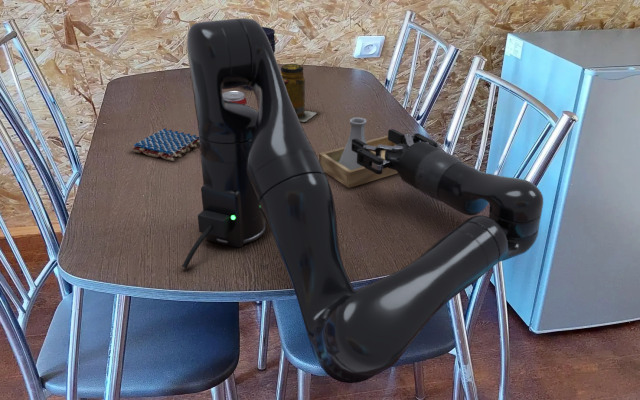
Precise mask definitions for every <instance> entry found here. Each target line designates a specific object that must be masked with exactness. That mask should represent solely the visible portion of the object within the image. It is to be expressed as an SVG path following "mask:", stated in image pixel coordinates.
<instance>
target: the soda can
mask: <svg viewBox="0 0 640 400" xmlns="http://www.w3.org/2000/svg"><path fill="white" fill-rule="evenodd" d="M245 95H246V94H245V93H244V92H242V91H237V90H229V91H225V92H222V96H223V99H224V100H226V101H229V102H234V103H239V104H243V105H247V106H248V104H247V98H246V97H245Z"/></svg>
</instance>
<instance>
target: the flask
mask: <svg viewBox="0 0 640 400" xmlns="http://www.w3.org/2000/svg"><path fill="white" fill-rule="evenodd" d="M349 125H350V131H349V135H348V139H347V142H346V144H345V146H346V147H345V146H344V147H345V149H344V151H343V154H342V156H341V158H340V160H339V163H340V164H341V165H343V166H345V167H346V168H348V169H349V170H353V169H356V168H360V167H363V166H361V165H359V164H357V153H356V152H354V151H352V150H351V147H352V139H356V138H357V139H358V140H360V141H362V142H364V143H366V141H367V140H366V134H365V126H366V125H367V119H366V118H364V117H352V118H349Z"/></svg>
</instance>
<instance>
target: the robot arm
mask: <svg viewBox="0 0 640 400" xmlns="http://www.w3.org/2000/svg"><path fill="white" fill-rule="evenodd" d="M262 27H263V26H261V25H260V23H259V22H258V21H256V20H255V19H252V18H242V17H241V18H229V19H220V20H219V19H218V20H207V21H201V22H196V23H193V24H192V25H191V26H190V27H189V29H188V32H187V35H186V36H187V37H186V52H187V53H186V54H187V61H188V66H189V73H190V78H191V86H192V93H193V101H194V102H193V103H194V109H195V110H194V111H195V116H196V121H197V129H198V130H197V131H198V137H199V142H200V143H199V152H200V162H201V173H202V183H203V185H202V186H201V187H200V193H201V202H202V211H200V213H198V214H197V222H198V223H197V224H198V231H199V233H201V235H200V236H199V237H198V238H197V240H196V242H195V243H194V244H193V246H192V247H191V249H190V250H189V252H188V254H187V256H186V258H185V260H184V261H183V264H182V265H181V267H182V268H184V269H187V268H188V266H189V264H190V262H191V261H192V258H193V257H194V255H195V254H196V252H197V250H198V248H199V247H200V246H201V244H202V243H203V241H204V240H206V241H210V242H214V243H219V244H221V245H222V244H223V245H226V246H231V247H235V248H242V246H243V245H245V244H249V243H252V242H254V241H257V240H259V239H260V238H261V237H262V236H263V235H264V234H265V232H266V224H267V227H268V228H269V231H270V233H271V236H272V238H273V241H274V243H275V246H276V249H277V251H278V253H279V255H280V258H281V260H282V262H283V265H284V267H285V269H286V272H287V274H288V276H289V278H290V281H291V284H292V287H293V290H294V291H293V292H294V293H295V296H296V301H297V304H298V308H299V310H300V313H301V317H302V320H303V324H304V327H305V331H306V335H307V338H308V342H309V345H310V348H311V350H312V353H313V356H314V358H315V360H316V361H317V363H318V365H319V366H320V367H321V369H322V370H323V371H324V372H325V373H326V375H328V376H329V377H331V378H332V379H333V380H335V381H337V382H340V383H345V384H355V383H356V384H357V383H361V382H366V381H368V380H369V379H372V378H374V377H375V376H377V375H379V374H381V373H383V372H385V371H387V370H389V369H390V368H391V367H393V366H394V365H395V364H396V363H397V362H398V361H399V360H400V358H401V357H402V356H403V355H404V353H405V352H406V351H407V350H408V348H409V347H410V345H411V344H412V343H413V342H414V341H415V339H416V338H417V337H418V336H419V334H420V333H421V332H422V330H424V328H425V327H426V325H427V324H428V323H429V322H430V321H431V319H433V317H435V315H436V314H437V313H438V312H439V311H440V310H441V309H442V308H443V307H445V306H446V304H448V302H450V301H451V300H452V299H454V298H455V297H456V296H458V295H459V294H460V293H462V292H463V291H465V290H466V289H467V288H468V287H470V286H472V285H473V284H474V283H475V282H476V281H478V280H479V279H480V278H482V277H483V276H484V275H485V274H487V272H489V271H490V270H491V269H492V268H494V267H495V266H496V265H497V264H498V263H501V262H504V261H506V260H509V259H512V258H514V257H517V256H520V255H523V254H525V253H527V252H528V251H529V250H530V249H531V248H532V247H533V246H534V245H535V243H536V241H537V238H538V236H539V231H540V224H541V218H542V212H543V207H544V196H543V193H542V192H541V190H540V189H539V188H538V187H537V185H535V184H534V183H533V182H532V181H530V180H527V179H524V178H520V177H519V178H517V177H511V176H503V175H499V174H494V173H493V174H492V173H489V172H488V173H487V172H483V171H481V170H480V169H477V168H475V167H473V166H471V165H470V164H467V163H465V162H464V161H462V160H461V159H459V158H458V157H456V156H454V155H453V154H451V153H448V152H446V151H445V150H442V149H441V148H439V143H438V142H436V141H435V140H432V139H430V138H429V137H427V136H425V135H423V134H422V133H419V132H416V133H414V134H413V135H411V134H410V133H406V134H404V133H402V132H400V131H398V130H396V129H394V128H391V129H388V131H387V135H388V140H389V141H391V142H393V143H395V144H397V145H395V146H387V145H381V144H379V145H378V146H370V145H367V144H366V143H364V142H362V141H360V140H358V139H357V138H356V139H352V147H351V150H352V151H354V152H356V153H357V164H359V165H361V166H363V167H365V168H367V169H368V170H370V171H372V172H374V173H376V174H382V171H383V169H384V168H387V167H388V168H389V169H393V170H396V171H397V172H398V173H397V174H398V176H399V177H400V179H401V180H402V181H403V182H404V183H406V184H408V185H409V186H411V187H413V188H415V189H416V190H418V191H419V192H421V193H423V194H424V195H426V196H428V197H429V198H432V199H434V200H436V201H439V202H441V203H443V204H445V205H446V206H448V207H450V208H452V210H455V211H457V212H458V213H461V214H462V215H465V216H469V217H470V218H468V219H466V220H464V221H463V222H461V223H460V224H458V225H457V226H456V227H454V228H453V229H452V230H450V231H448V232H447V233H446V234H445V235H444V236H442V237H441V238H439V239H438V240H437V241H436V242H434V243H433V244H432V245H431V246H430V247H428V248H427V250H425V251H424V252H423V253H422V254H421V255H420V256H419V257H417V258H416V259H415V260H413V261H412V262H410V263H408V265H406V266H404V267H403V268H400V269H399V270H397V271H396V272H393V273H392V274H389V275H387V276H386V277H382V278H381V279H378V280H376V281H374V282H371V283H370V284H367V285H364V286H362V287H360V288H357V289H354V286H353V284H352V282H351V280H350V278H349V275H348V273H347V271H346V268H345V266H344V262H343V259H342V255H341V248H340V241H339V231H338V221H337V212H336V204H335V199H334V194H333V191H332V187H331V184H330V182H329V179H328V177H327V176H326V175H327V174H326V173H325V172H324V171H323V168H322V166H321V164H320V162H319V157H318V156H317V153H316V152H315V150H314V148H313V146H312V144H311V142H310V140H309V138H308V135H307V134H306V132H305V130H304V127H303V125H302V123H301V121H299V118H298V116H297V114H296V112H295V109H294V107H293V105H292V103H291V100H290V98H289V95H288V92H287V90H286V87H285V84H284V81H283V78H282V75H281V69H280V67H279V65H278V64H279V63H278V61H277V59H276V55H275V52H274V53H273V50H272V47H271V45H270V42H269V40H268V38H267V36H266V34H265V32H264V30H263V28H262ZM244 86H249V87H250V88H251V89H252V90H251V91H252V92H253V94H254V96H255V100H256V103H257V110H256V109H255V108H253V107H251V106H249V105H248V104H247V105H243V104H239V103H234V102H229V101H226V100H224V99H223V96H222V94H223V91H224V90H229V89H236V88H243V87H244ZM382 150H383V151H385V160H383V159H382V158H381V151H382ZM370 151H374V152H376V155H374V154H372V153H370ZM488 205H489V209H488V210H489V211H488V216H487V215H479V214H481V213H482V212H483V211H485V209H486V208H487V207H488ZM471 216H472V217H471Z"/></svg>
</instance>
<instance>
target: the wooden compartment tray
mask: <svg viewBox="0 0 640 400" xmlns="http://www.w3.org/2000/svg"><path fill="white" fill-rule="evenodd" d="M366 144H367V145H370V146H378V145H379V144H381V145H387V146H395V145H397V144H395V143H393V142H391V141H389V140H388V134H387V135H384V136H380V137H377V138H371V139H369V140H366ZM345 147H346V145H345V146H341V147H338V148H335V149H330V150H326V151H323V152H320V153H318V160H319V162H320V164H321V166H322V168H323V171H324V173H325V174H326V175H328V176H330V177H331V178H332V179H334V180H336V181H337V182H339V183H340V184H342V185H343V186H345V187H346V188H347V189H352V188H354V187H358V186H361V185H365V184H368V183H370V182H373V181H377V180H380V179H384V178H386V177H389V176H393V175H396V174H398V172H397V171H396V170H393V169H389V168H388V167H387V168H384V169H383V171H382V174H376V173H374V172H372V171H370V170H368V169H367V168H365V167H360V168H356V169H353V170H349V169H348V168H346V167H345V166H343V165H341V164H340V163H339V160H340V158H341V156H342V154H343V151H344V149H345ZM370 153H372V154H374V155H376V152H374V151H370ZM381 158H382V159H383V160H385V151H383V150H382V151H381Z"/></svg>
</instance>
